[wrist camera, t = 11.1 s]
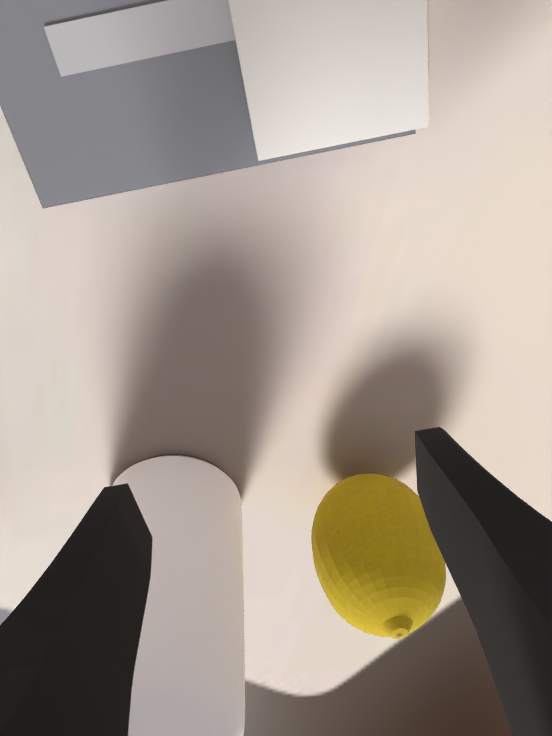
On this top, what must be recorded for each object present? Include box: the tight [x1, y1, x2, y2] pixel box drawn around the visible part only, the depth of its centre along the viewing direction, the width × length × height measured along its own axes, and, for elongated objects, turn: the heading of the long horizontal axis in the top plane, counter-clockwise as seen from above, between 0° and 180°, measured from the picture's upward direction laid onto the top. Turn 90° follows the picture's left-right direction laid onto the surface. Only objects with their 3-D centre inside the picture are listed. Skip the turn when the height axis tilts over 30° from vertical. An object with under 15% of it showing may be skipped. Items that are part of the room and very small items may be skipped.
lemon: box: [312, 473, 446, 639], centre depth 23 cm, size 6×6×8 cm
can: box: [112, 455, 245, 736], centre depth 21 cm, size 6×6×12 cm
